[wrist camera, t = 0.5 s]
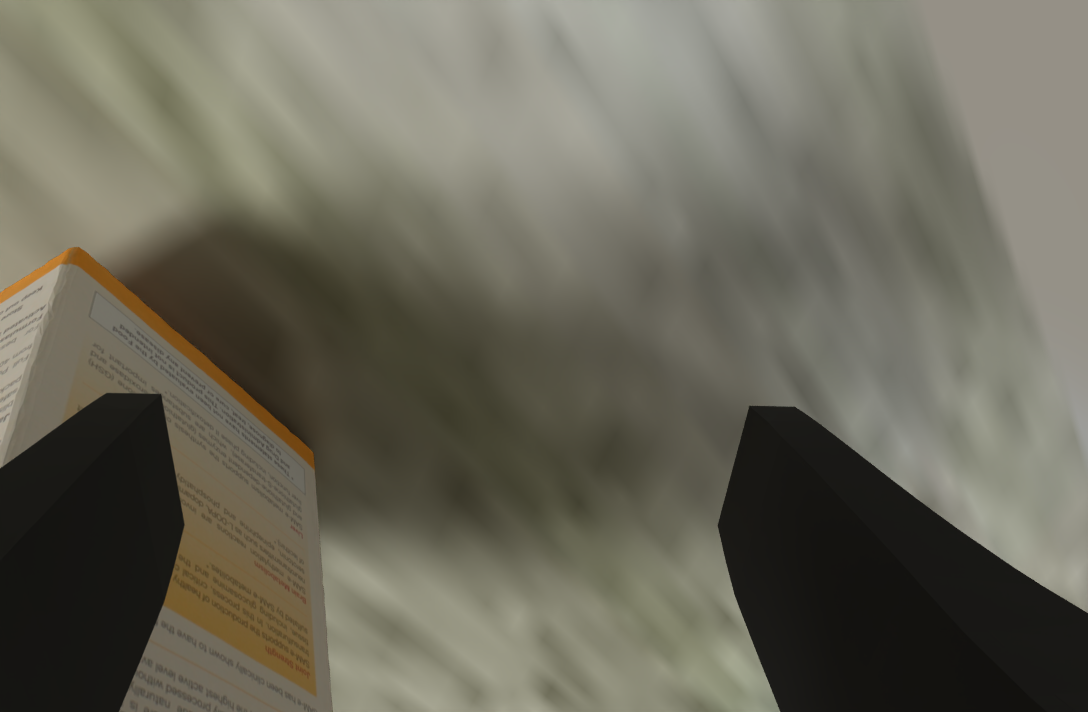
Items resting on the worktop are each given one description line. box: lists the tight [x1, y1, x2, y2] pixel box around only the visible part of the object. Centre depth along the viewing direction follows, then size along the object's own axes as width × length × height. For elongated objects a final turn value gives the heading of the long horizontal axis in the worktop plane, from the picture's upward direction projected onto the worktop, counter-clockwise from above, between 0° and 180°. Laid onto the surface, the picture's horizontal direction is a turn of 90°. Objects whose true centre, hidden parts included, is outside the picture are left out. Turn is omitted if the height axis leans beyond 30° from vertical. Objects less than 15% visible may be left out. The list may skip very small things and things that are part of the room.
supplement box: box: [0, 247, 333, 712], centre depth 15 cm, size 8×5×13 cm, turn 28°
